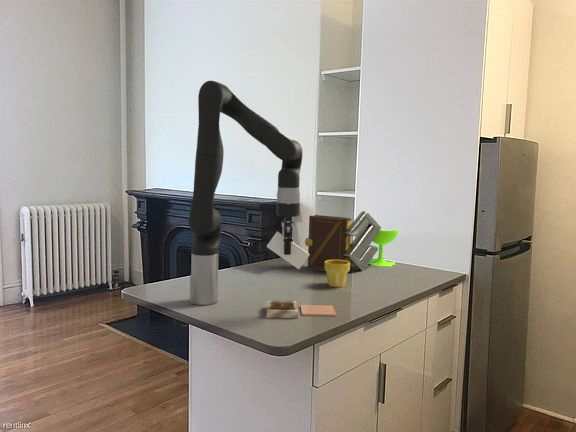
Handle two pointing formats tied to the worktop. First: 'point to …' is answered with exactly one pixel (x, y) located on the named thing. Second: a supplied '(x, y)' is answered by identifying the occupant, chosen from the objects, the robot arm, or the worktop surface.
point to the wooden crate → (326, 240)
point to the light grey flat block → (297, 253)
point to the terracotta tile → (317, 310)
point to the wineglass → (382, 239)
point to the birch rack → (282, 311)
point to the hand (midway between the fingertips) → (287, 253)
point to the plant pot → (337, 272)
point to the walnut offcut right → (288, 305)
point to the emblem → (362, 241)
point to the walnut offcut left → (276, 305)
